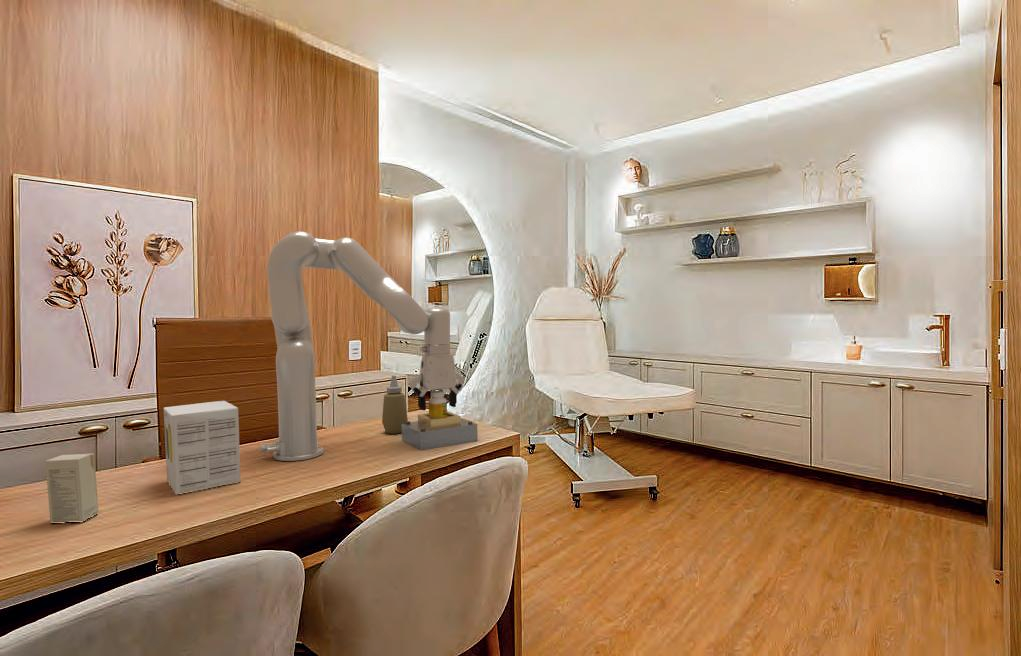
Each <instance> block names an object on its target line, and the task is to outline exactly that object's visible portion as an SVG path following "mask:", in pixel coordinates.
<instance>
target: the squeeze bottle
mask: <svg viewBox="0 0 1021 656" xmlns="http://www.w3.org/2000/svg"><path fill="white" fill-rule="evenodd" d="M408 418H409V417H408V412H407V403H406V394H404V393H402V386H400V385H399V383H398V380H397V376H396V375H392V376H391V378H390V385H389V386H387V387H386V393H385V394H384V396H383V404H382V418H381V423H382V426H383V429H384V431H385V433H386V434H390V435H391V434H392V435H394V434H395V435H396V434H402V423H406V422H407V421H409V419H408Z"/></svg>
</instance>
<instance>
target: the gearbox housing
mask: <svg viewBox="0 0 1021 656" xmlns="http://www.w3.org/2000/svg"><path fill="white" fill-rule="evenodd" d="M401 440H402V441H403V442H404V443H407V444H408V445H411V446H412V447H414V448H416V449H418V450H419V451H424V450H431V449H436V448H443V447H448V446H453V445H454V444H455V445H459V444H465V443H471V442H472V443H473V442H476V441H477V440H479V438H478V423H476V422H473V421H472V420H468V419H465V418H463V417H461V415H459V414H456V413H453V412H451V411H448V410H447V417H442V418H435V419H432V418H430V417H429V412H428V413H419V414H417V420H416V421H411V420H408V421H407V422H406V423H402V433H401ZM477 442H478V441H477Z"/></svg>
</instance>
